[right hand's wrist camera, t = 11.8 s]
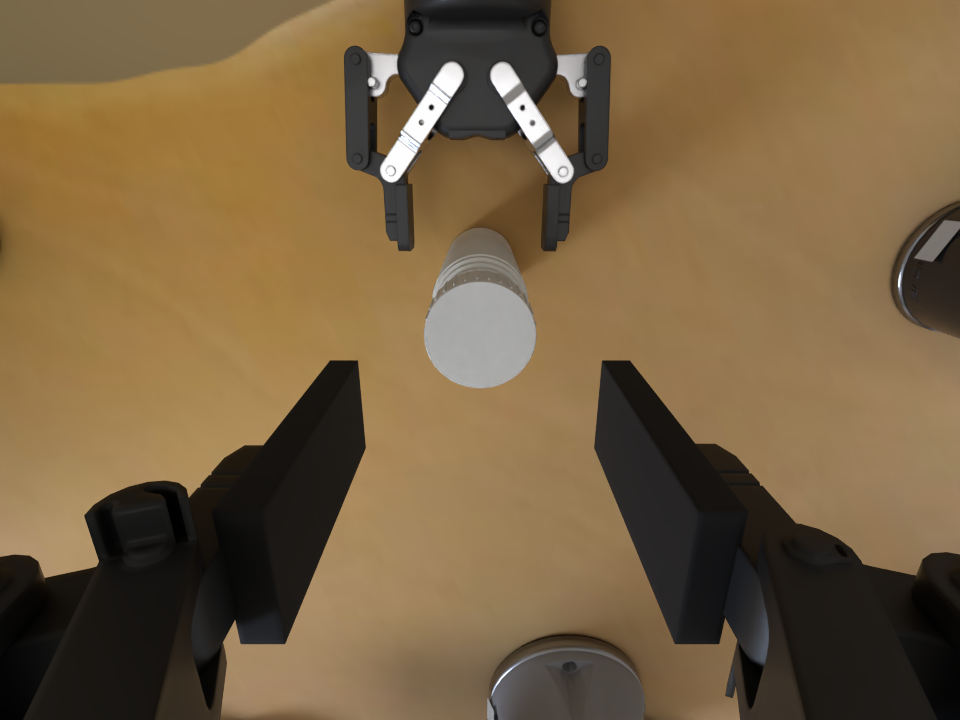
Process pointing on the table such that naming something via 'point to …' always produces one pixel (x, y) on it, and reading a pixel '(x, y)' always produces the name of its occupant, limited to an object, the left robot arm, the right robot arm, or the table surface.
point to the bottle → (480, 257)
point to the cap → (480, 329)
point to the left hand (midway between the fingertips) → (477, 249)
